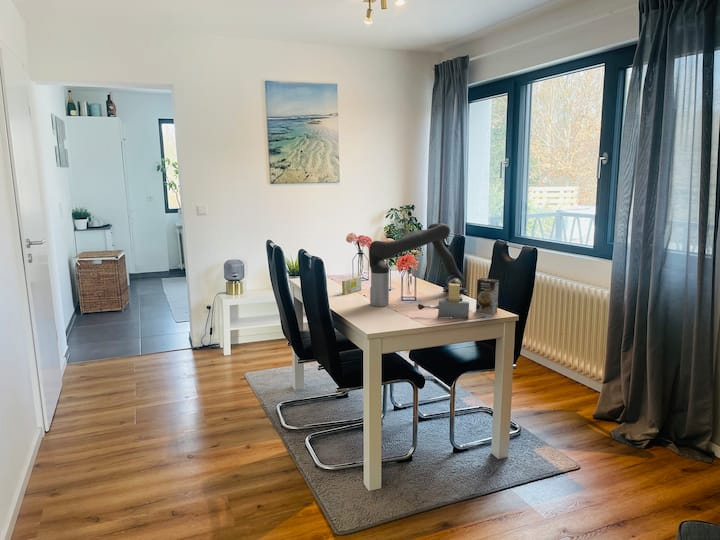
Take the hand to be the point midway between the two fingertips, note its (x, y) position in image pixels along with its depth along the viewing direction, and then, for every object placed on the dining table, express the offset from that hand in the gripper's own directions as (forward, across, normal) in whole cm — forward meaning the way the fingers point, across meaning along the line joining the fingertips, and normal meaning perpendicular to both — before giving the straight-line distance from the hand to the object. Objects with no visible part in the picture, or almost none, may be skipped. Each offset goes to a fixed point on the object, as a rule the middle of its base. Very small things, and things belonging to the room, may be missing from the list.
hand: (454, 293), depth 276 cm
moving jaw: (+14, 0, +6) cm, 16 cm away
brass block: (+19, 0, +6) cm, 20 cm away
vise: (+18, -5, +6) cm, 19 cm away
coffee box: (+9, +16, +7) cm, 19 cm away
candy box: (-23, -58, +7) cm, 63 cm away
